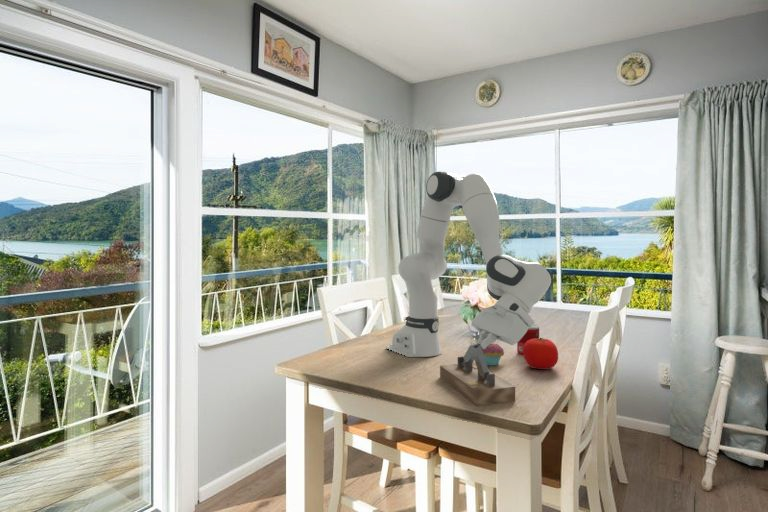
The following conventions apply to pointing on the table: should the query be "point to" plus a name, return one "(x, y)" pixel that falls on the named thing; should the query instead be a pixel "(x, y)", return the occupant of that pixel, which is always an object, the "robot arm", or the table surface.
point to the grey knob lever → (470, 352)
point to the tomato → (540, 353)
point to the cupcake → (493, 354)
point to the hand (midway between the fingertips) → (479, 346)
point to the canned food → (528, 337)
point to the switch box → (477, 383)
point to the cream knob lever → (479, 358)
